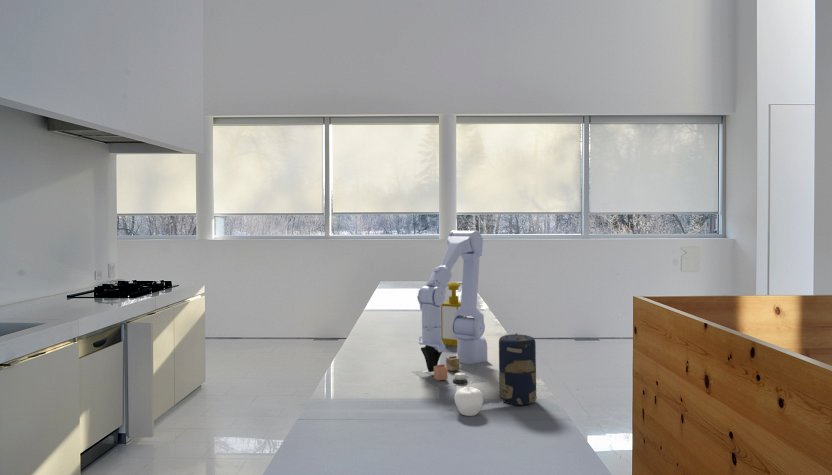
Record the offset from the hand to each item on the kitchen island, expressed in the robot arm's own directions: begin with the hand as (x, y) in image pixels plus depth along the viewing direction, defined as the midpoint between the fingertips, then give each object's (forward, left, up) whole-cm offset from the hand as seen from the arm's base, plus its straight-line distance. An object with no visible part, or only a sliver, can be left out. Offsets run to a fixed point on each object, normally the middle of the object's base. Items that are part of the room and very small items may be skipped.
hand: (432, 371), depth 177 cm
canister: (-11, +30, -2) cm, 32 cm away
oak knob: (-8, -2, -1) cm, 8 cm away
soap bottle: (-31, -43, -2) cm, 53 cm away
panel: (-3, +4, -2) cm, 5 cm away
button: (-4, +11, -1) cm, 11 cm away
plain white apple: (+5, +33, -3) cm, 33 cm away
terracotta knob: (0, +6, -1) cm, 6 cm away
